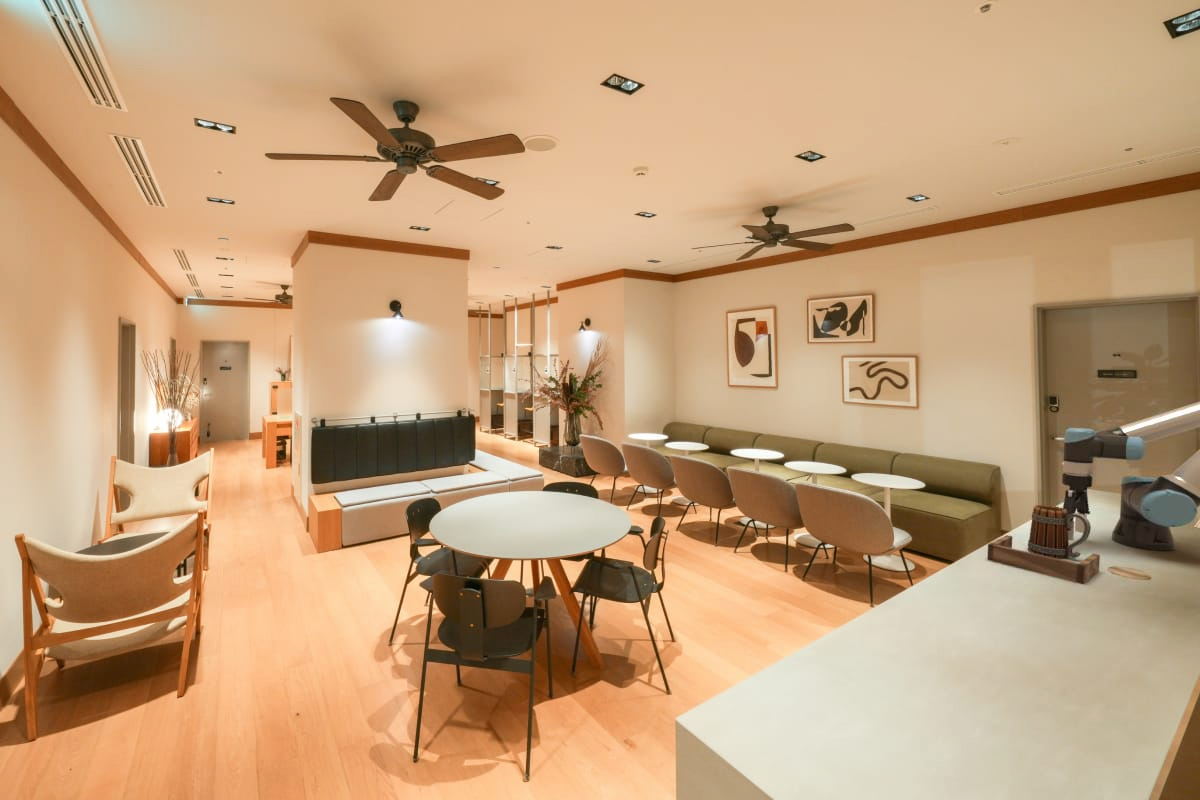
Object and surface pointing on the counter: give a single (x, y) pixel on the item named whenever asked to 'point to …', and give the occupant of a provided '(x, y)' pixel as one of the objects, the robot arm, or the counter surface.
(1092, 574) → the bay
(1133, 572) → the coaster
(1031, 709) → the counter surface
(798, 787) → the counter surface
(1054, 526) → the mug
